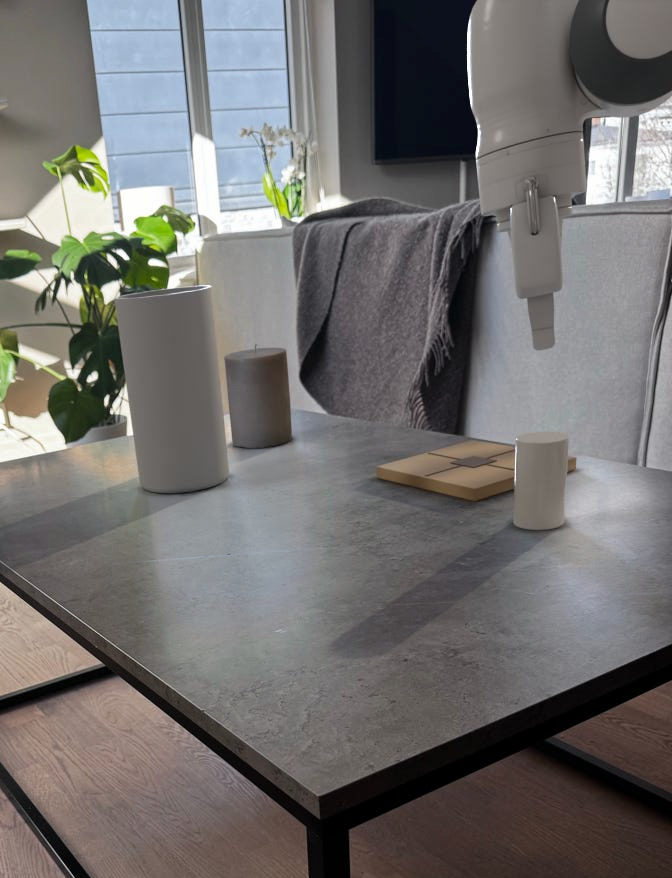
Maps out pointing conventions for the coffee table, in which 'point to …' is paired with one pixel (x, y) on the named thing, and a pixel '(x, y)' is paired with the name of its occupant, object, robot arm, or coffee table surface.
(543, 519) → the white cylinder
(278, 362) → the pillar candle
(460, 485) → the game board
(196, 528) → the coffee table surface
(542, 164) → the robot arm
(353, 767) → the coffee table surface
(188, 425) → the cylinder vase
